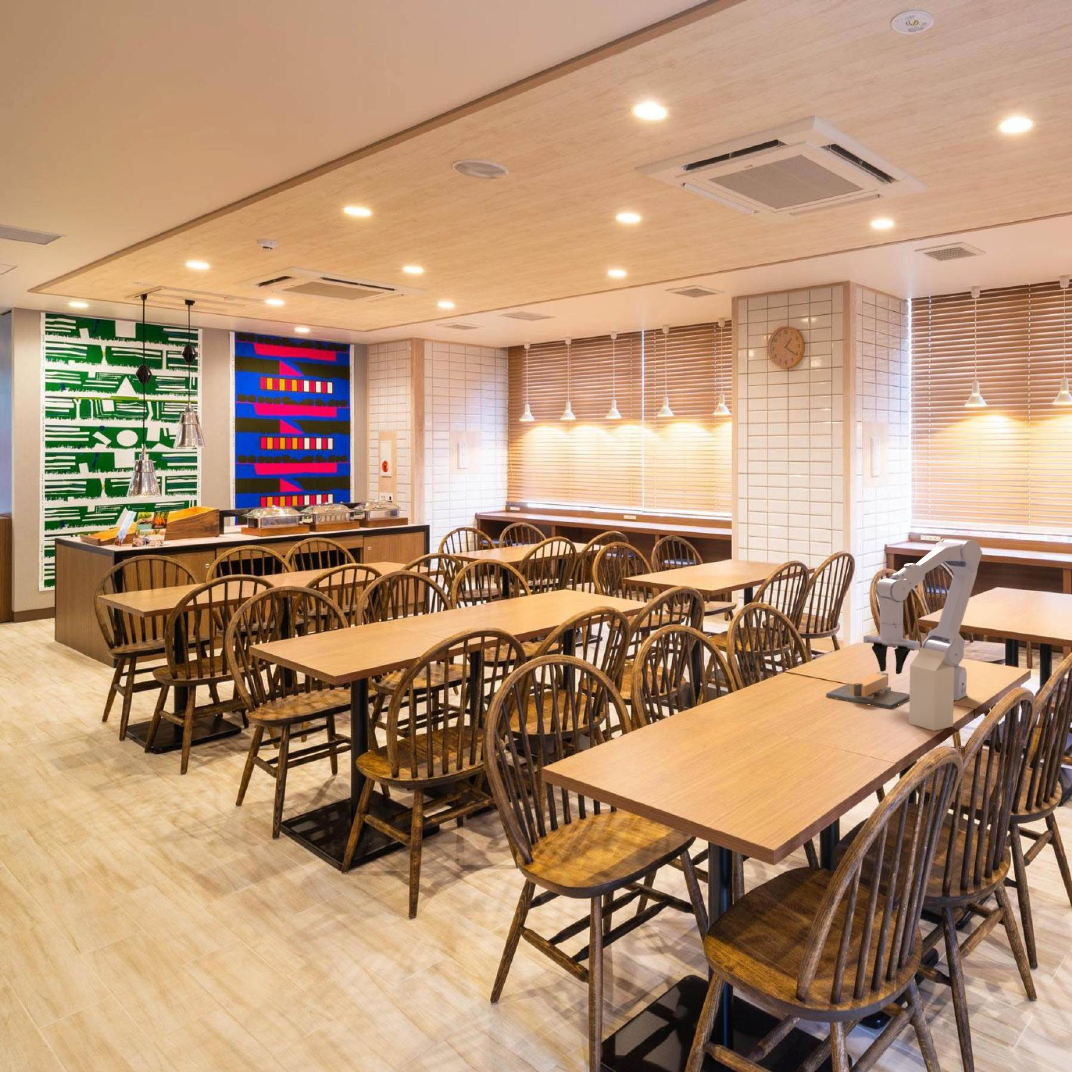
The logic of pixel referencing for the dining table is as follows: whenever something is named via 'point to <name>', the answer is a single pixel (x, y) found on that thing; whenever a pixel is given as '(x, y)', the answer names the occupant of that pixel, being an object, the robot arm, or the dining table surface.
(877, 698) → the server tray
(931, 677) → the milk carton
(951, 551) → the robot arm
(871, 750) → the dining table surface
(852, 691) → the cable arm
